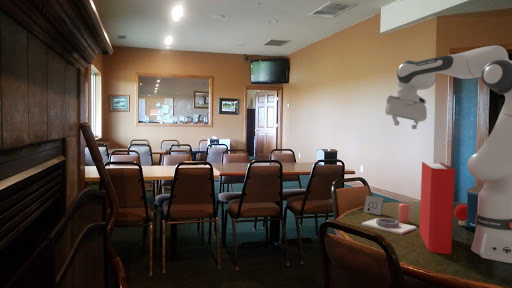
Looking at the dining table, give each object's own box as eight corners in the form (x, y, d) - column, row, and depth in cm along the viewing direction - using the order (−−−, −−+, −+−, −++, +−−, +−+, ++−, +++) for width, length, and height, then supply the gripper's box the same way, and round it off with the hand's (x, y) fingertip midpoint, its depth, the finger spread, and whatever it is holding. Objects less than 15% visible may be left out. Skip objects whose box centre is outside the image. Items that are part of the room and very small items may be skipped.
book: (419, 232, 169) (422, 161, 167) (438, 233, 167) (441, 162, 165) (428, 252, 143) (432, 168, 141) (452, 254, 141) (455, 169, 139)
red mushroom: (454, 222, 186) (454, 202, 186) (470, 224, 183) (471, 204, 182) (452, 226, 178) (453, 206, 178) (469, 229, 175) (470, 207, 174)
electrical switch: (363, 212, 205) (364, 195, 205) (367, 212, 209) (368, 195, 209) (380, 215, 199) (381, 198, 199) (384, 215, 203) (385, 197, 203)
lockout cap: (410, 221, 187) (411, 204, 187) (406, 223, 184) (406, 206, 184) (401, 219, 191) (401, 203, 191) (396, 221, 188) (397, 204, 187)
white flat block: (416, 228, 175) (416, 222, 175) (401, 234, 165) (401, 227, 165) (377, 220, 190) (377, 214, 189) (361, 224, 180) (361, 218, 180)
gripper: (391, 92, 173) (389, 121, 170) (429, 101, 178) (428, 129, 175) (383, 96, 179) (381, 124, 176) (420, 104, 184) (419, 132, 181)
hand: (405, 127), depth 176 cm, fingers open, 8 cm apart
